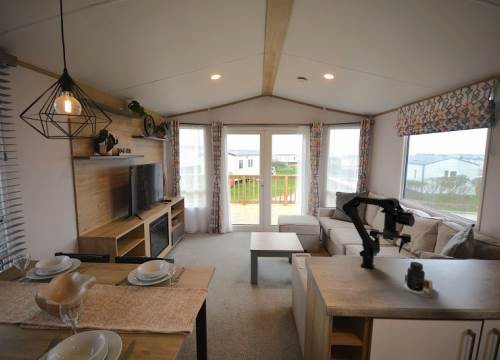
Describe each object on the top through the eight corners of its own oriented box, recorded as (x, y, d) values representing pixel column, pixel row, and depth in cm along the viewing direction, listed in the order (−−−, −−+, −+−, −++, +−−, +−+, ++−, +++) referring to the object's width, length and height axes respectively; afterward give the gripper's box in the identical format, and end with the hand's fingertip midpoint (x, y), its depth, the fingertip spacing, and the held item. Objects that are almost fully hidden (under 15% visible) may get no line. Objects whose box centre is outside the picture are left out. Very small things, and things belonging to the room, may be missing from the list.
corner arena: (404, 280, 123) (405, 274, 123) (431, 288, 116) (432, 281, 116) (403, 290, 114) (403, 283, 114) (432, 298, 108) (433, 291, 107)
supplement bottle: (405, 282, 120) (407, 259, 118) (421, 286, 117) (423, 262, 116) (407, 289, 113) (409, 265, 112) (425, 293, 111) (427, 268, 109)
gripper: (368, 222, 126) (366, 251, 127) (411, 228, 115) (409, 260, 116) (371, 218, 135) (370, 245, 136) (412, 223, 124) (410, 253, 125)
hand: (388, 251), depth 128 cm, fingers open, 9 cm apart
